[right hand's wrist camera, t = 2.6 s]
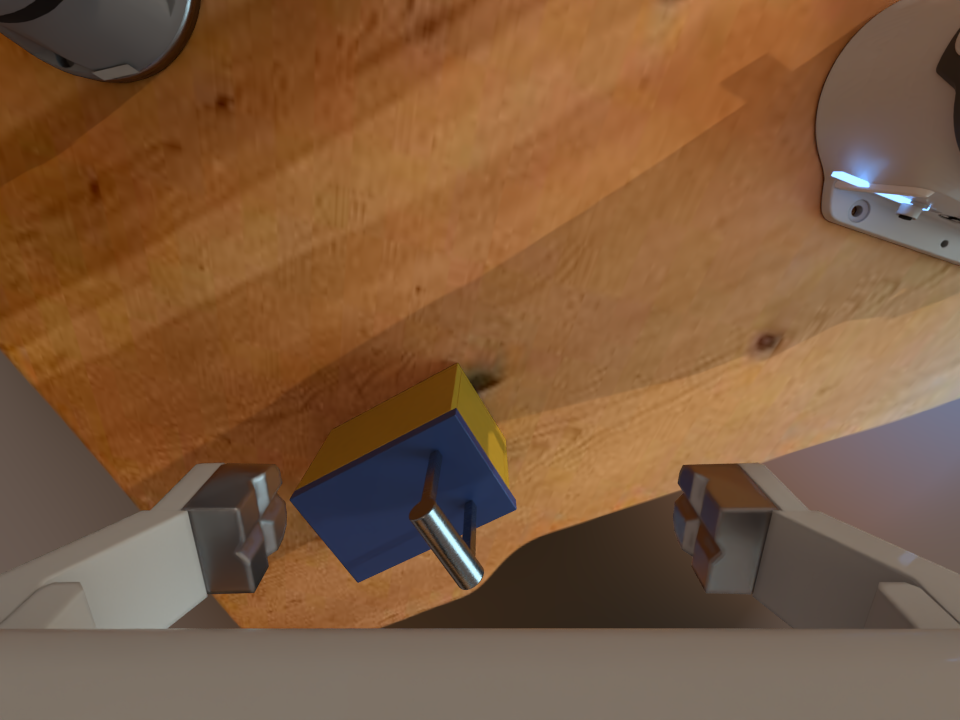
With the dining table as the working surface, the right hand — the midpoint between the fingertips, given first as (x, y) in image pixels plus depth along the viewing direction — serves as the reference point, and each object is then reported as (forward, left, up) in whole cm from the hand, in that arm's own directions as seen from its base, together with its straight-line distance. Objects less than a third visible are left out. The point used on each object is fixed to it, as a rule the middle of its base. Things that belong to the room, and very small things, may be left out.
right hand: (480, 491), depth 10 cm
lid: (-3, +18, -24) cm, 30 cm away
